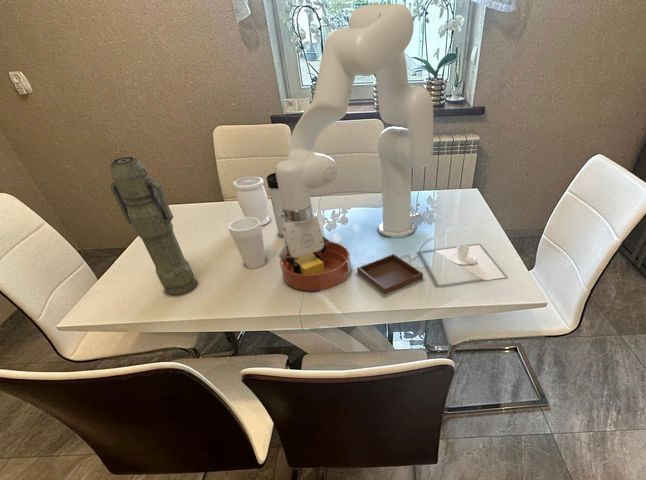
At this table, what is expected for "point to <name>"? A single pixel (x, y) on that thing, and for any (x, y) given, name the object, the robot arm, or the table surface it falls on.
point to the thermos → (151, 223)
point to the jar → (252, 198)
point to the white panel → (473, 261)
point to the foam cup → (249, 240)
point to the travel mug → (275, 201)
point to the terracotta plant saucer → (335, 273)
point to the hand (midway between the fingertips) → (308, 271)
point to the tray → (389, 274)
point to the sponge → (310, 265)
